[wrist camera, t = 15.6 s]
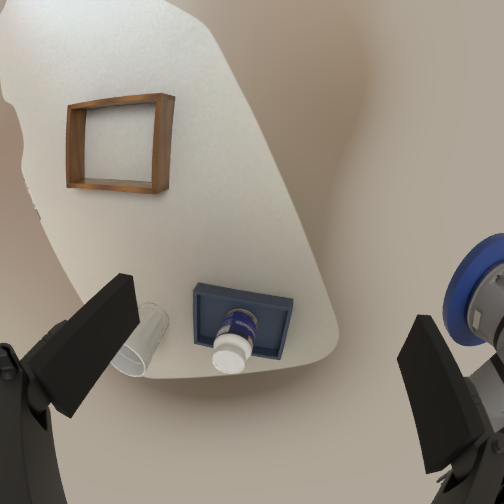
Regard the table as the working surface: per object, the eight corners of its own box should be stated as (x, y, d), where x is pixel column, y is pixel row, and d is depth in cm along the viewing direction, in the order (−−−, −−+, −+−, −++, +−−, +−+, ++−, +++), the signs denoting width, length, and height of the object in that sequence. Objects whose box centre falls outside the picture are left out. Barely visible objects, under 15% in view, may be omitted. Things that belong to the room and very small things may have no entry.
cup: (128, 310, 49) (96, 349, 38) (150, 292, 46) (116, 333, 36) (156, 339, 51) (130, 381, 40) (181, 323, 48) (154, 369, 37)
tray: (293, 298, 43) (292, 308, 40) (281, 350, 47) (280, 360, 45) (198, 282, 44) (193, 290, 42) (198, 334, 49) (193, 343, 46)
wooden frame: (175, 96, 33) (162, 92, 29) (168, 188, 39) (156, 194, 35) (83, 105, 35) (67, 105, 31) (81, 182, 40) (66, 187, 37)
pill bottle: (265, 323, 45) (257, 367, 35) (241, 339, 47) (229, 381, 38) (240, 300, 43) (226, 342, 34) (217, 318, 46) (199, 359, 37)
